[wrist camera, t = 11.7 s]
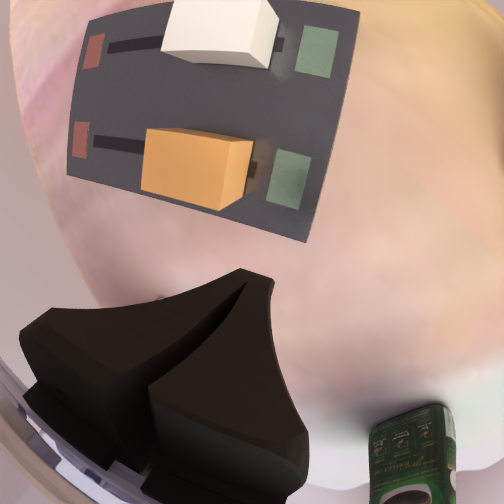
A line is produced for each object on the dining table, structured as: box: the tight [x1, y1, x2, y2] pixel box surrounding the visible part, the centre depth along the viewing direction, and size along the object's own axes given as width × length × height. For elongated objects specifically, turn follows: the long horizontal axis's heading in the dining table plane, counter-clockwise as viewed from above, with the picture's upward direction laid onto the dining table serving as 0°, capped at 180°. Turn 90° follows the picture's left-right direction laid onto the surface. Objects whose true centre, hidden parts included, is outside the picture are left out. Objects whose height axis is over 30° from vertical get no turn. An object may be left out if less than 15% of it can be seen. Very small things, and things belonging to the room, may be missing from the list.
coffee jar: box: [368, 405, 456, 504], centre depth 14 cm, size 10×8×19 cm
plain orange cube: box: [141, 128, 253, 211], centre depth 15 cm, size 4×5×4 cm
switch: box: [161, 0, 279, 69], centre depth 12 cm, size 4×5×4 cm
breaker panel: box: [67, 0, 360, 243], centre depth 17 cm, size 15×22×2 cm
